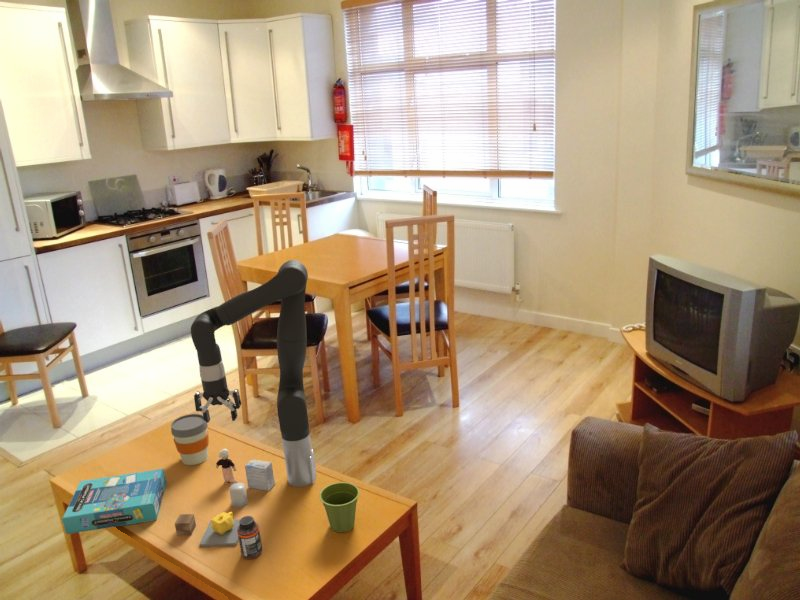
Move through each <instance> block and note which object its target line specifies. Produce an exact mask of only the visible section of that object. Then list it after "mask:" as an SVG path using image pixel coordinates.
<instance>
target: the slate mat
mask: <svg viewBox="0 0 800 600" xmlns="http://www.w3.org/2000/svg"><path fill="white" fill-rule="evenodd" d="M240 519H241V518H240ZM240 519H238V518H237V519H233V522H234V527H232V529H231V530H228V531H227V532H225V534H224V535H220V534H219V533H217V532H215V531H214V530H213V529H212V528H211V527H210V526H211V525H212V519H211V520H209V523H208V525H207V527H206V530H205V531H204V533H203V536H202V538H201V540H200V541H199V544H198V545H199V546H198V547H224V546H225V547H227V546H237V545H238V543H239V538H238V532H237V530H238V527H239V525H240V523H239V521H240Z"/></svg>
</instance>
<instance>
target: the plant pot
mask: <svg viewBox="0 0 800 600" xmlns="http://www.w3.org/2000/svg"><path fill="white" fill-rule="evenodd" d="M360 493H361V492H360V489H359V487H358V486H357V485H355V484H354V483H351V482H346V481H345V482H343V481H341V482H339V481H338V482H334V483H331V484H328V485H326V486H324V488H322V489H321V491H320V492H319V500H320V502H321V503H322V505H323V507H324V509H325V513H326V516H327V519H328V523H329V526H330V529H331V530H332V531H334V532H336V533H339V532H340V533H346V532H349V531H350V530H352V529H353V528H354V526H355V521H356V510H357V503H358V498H359V496H360Z"/></svg>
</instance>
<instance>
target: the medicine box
mask: <svg viewBox="0 0 800 600" xmlns="http://www.w3.org/2000/svg"><path fill="white" fill-rule="evenodd" d="M273 469H274V468H273V462H271V461H266V460H259V459H250V460H249V461H248V462H247V463H246V465H244V470H245V476H246V481H247V487H248V488H249V489H252V490H253V489H254V490H261V491H268V492H269V491H270V490H271V489H272V488H273V486H274V485H275V483H276V482H275V475H274V470H273Z"/></svg>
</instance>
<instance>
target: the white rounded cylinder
mask: <svg viewBox="0 0 800 600" xmlns="http://www.w3.org/2000/svg"><path fill="white" fill-rule="evenodd" d="M228 490H229V494H230V495H229V496H230V501H231V506H232V507H233V508H235V509H240V508H243V507H245V506H247V505H248V502H249V501H248V494H247V489H246V484H245V483H244V482H237V483H235V484H233V485H229V487H228Z"/></svg>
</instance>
